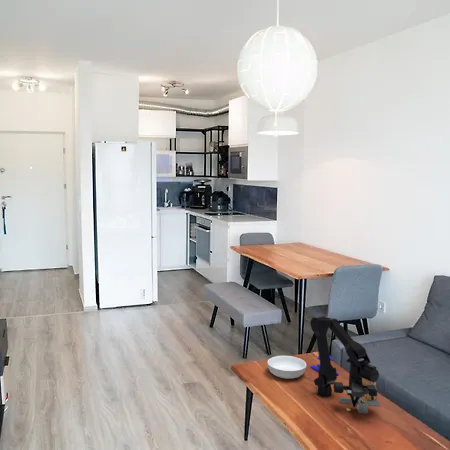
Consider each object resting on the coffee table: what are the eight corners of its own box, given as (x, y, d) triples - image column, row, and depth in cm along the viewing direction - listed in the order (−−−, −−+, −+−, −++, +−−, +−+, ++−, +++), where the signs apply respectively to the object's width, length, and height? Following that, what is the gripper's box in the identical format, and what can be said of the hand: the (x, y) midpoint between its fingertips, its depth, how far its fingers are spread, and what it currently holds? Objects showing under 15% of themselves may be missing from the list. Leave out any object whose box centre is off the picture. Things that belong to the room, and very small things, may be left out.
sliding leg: (358, 412, 210) (358, 402, 209) (355, 404, 218) (356, 393, 217) (367, 413, 209) (368, 402, 209) (364, 404, 217) (364, 394, 217)
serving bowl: (288, 364, 266) (289, 352, 265) (313, 378, 248) (314, 366, 247) (259, 371, 255) (259, 359, 254) (283, 386, 237) (283, 373, 236)
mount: (338, 376, 252) (339, 360, 251) (328, 378, 248) (329, 362, 247) (320, 365, 265) (321, 351, 264) (310, 368, 261) (310, 353, 260)
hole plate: (343, 418, 207) (343, 410, 207) (339, 404, 220) (340, 397, 220) (384, 421, 205) (385, 414, 205) (378, 407, 218) (379, 400, 218)
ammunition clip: (376, 405, 220) (377, 381, 219) (372, 405, 220) (374, 381, 218) (362, 395, 230) (363, 371, 229) (359, 395, 230) (360, 372, 228)
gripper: (336, 379, 203) (334, 413, 205) (380, 383, 201) (378, 417, 202) (334, 369, 214) (332, 401, 216) (375, 372, 212) (373, 405, 213)
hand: (353, 406), depth 212 cm, fingers closed
